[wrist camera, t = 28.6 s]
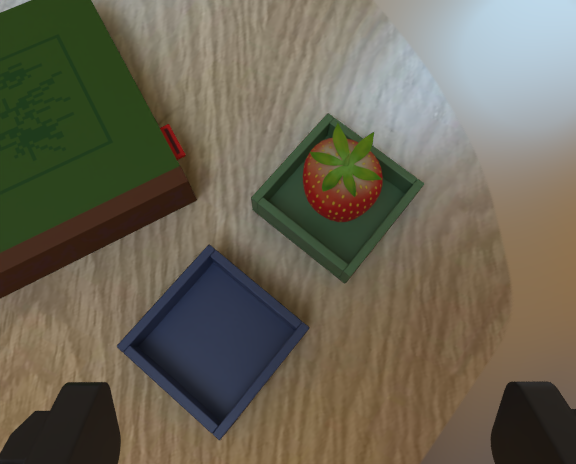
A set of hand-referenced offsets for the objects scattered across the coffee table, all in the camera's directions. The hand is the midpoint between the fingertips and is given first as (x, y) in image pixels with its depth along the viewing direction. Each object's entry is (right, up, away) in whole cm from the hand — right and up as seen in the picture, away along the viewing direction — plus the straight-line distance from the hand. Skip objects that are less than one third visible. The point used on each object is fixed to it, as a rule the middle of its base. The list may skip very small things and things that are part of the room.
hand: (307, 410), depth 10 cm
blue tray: (-5, -4, +23) cm, 24 cm away
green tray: (+3, +6, +26) cm, 27 cm away
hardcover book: (-22, +8, +27) cm, 36 cm away
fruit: (+3, +6, +26) cm, 27 cm away
